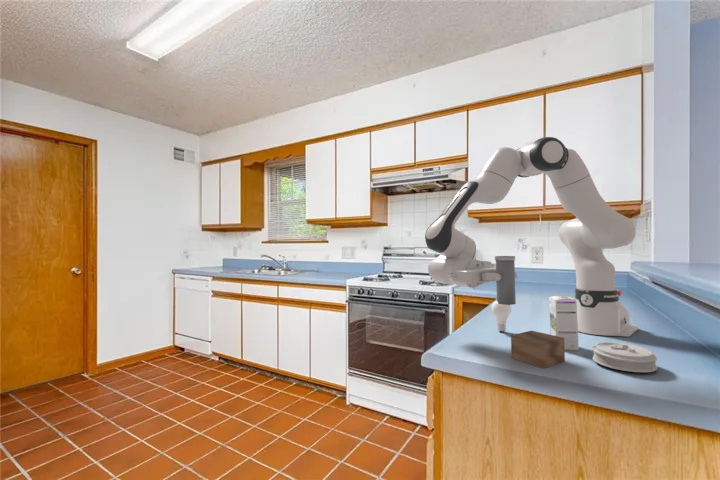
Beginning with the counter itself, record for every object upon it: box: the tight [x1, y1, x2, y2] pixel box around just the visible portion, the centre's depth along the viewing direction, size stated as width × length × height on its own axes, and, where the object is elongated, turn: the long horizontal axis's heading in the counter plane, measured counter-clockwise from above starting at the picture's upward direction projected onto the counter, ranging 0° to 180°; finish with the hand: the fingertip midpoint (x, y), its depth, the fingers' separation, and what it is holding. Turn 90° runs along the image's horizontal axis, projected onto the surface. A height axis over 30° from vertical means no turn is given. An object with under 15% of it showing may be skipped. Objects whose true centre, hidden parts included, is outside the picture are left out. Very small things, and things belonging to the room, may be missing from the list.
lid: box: [591, 342, 658, 373], centre depth 85 cm, size 13×13×5 cm
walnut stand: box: [510, 330, 566, 369], centre depth 90 cm, size 9×9×6 cm
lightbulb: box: [490, 300, 512, 333], centre depth 118 cm, size 6×6×11 cm
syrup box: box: [548, 295, 579, 351], centre depth 100 cm, size 6×6×14 cm
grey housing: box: [494, 255, 517, 306], centre depth 95 cm, size 5×5×13 cm
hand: (508, 276), depth 95 cm, fingers closed on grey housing, 5 cm apart
